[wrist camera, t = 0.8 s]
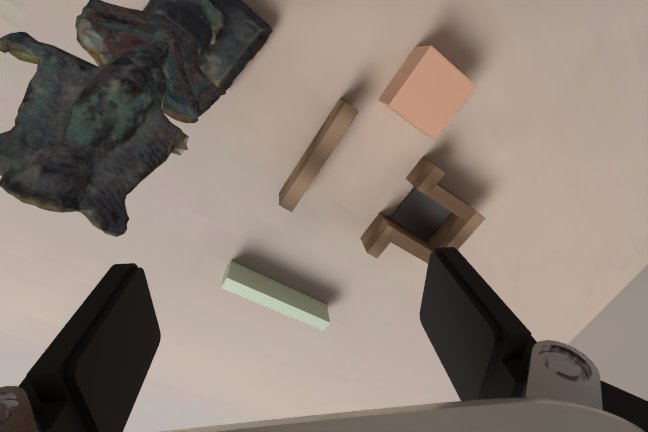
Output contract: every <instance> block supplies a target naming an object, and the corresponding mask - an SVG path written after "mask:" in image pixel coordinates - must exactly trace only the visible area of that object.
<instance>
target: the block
mask: <svg viewBox="0 0 648 432" xmlns="http://www.w3.org/2000/svg"><path fill="white" fill-rule="evenodd" d="M476 87H477V86H476V85H475V84H474V83H472V82H471V81H470V80H469V79H468V78H467V77H466V76H465V75H464V74H462V73H461V72H460V71H459V70H458V69H457V68H456V67H455V66H454V65H452V64H451V63H450V62H449V61H448V60H447V59H446V58H445V57H444V56H442V55H441V54H440V53H439V52H438V51H437V50H436V49H435V48H433V47H432V46H431V45H430V46H417V47H415V48H414V49H413V51H412V52H411V54H410V55H409V57H408V58H407V59H406V61H405V62H404V64H403V65H402V67H401V68H400V69H399V71H398V72H397V74H396V75H395V77H394V78H393V79H392V81H391V82H390V84H389V85H388V87H387V88H386V89H385V91H384V92H383V94H382V95H381V97H380V98H379V99H378V100H379V101H380V102H381V103H383V104H384V105H385V106H387V107H388V108H389V109H391V110H392V111H393V112H394V113H396V114H397V115H398V116H400V117H401V118H402V119H404V120H405V121H406V122H407V123H409V124H410V125H411V126H413V127H414V128H415V129H417V130H418V131H419V132H421V133H423V134H424V135H426V136H428V137H430V138H432V139H434V140H435V139H436V138H437V136H438V135H439V134H440V132H441V131H442V130H443V129H444V127H445V126H446V125H447V124H448V122H449V121H450V120H451V118H452V117H453V116H454V115H455V113H456V112H457V111H458V109H459V108H460V107H461V106H462V104H463V103H464V102H465V101H466V99H467V98H468V97H469V95H470V94H471V93H472V92H473V90H474V89H475V88H476Z"/></svg>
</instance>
